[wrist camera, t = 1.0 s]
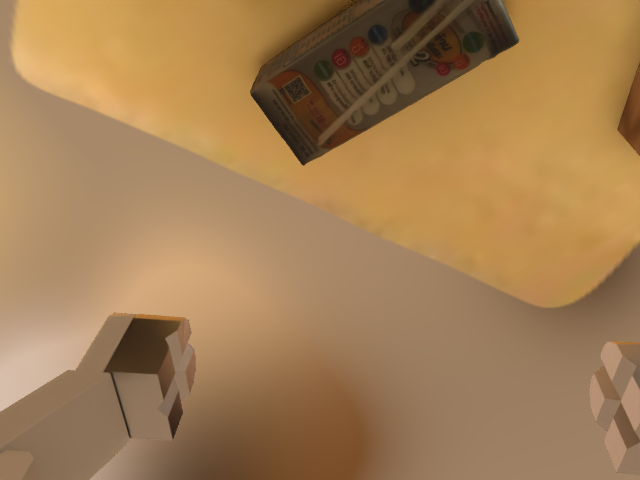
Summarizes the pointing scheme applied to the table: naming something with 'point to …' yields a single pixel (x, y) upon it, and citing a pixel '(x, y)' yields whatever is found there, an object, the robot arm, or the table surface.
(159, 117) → the table surface
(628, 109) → the display block
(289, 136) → the beverage carton
